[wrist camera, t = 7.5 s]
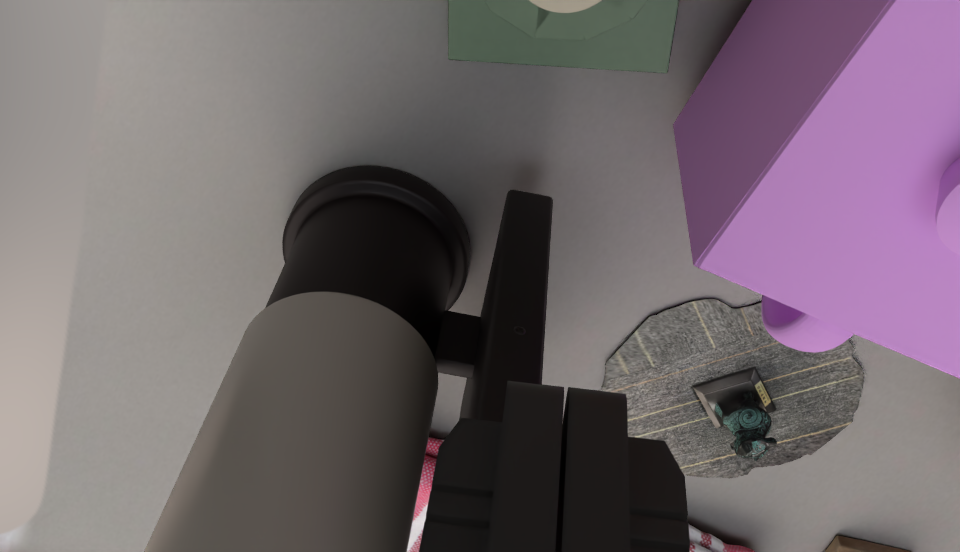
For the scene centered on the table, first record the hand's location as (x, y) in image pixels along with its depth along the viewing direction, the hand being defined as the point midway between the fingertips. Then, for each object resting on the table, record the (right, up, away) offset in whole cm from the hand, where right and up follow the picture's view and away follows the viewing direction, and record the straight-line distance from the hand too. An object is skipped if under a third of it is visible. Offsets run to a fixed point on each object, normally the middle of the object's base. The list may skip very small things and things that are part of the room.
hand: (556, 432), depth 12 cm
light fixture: (-4, +3, +30) cm, 30 cm away
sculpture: (+11, -4, +33) cm, 35 cm away
